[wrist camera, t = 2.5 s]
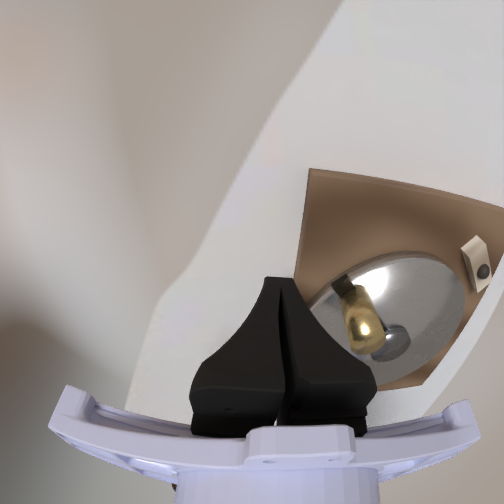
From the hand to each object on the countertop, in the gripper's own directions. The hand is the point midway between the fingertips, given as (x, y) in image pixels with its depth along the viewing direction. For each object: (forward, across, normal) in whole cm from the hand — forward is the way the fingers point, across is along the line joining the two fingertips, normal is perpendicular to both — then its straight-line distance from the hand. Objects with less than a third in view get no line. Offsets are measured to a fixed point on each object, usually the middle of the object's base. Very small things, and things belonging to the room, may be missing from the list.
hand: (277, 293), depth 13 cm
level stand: (+4, -10, +5) cm, 11 cm away
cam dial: (+2, -8, +5) cm, 10 cm away
